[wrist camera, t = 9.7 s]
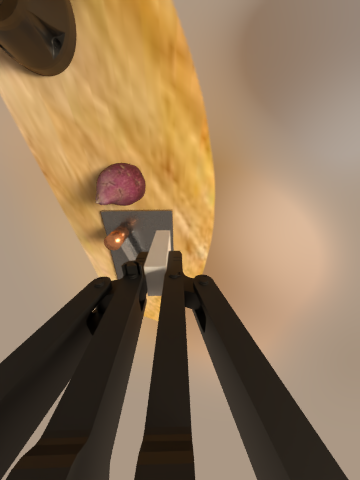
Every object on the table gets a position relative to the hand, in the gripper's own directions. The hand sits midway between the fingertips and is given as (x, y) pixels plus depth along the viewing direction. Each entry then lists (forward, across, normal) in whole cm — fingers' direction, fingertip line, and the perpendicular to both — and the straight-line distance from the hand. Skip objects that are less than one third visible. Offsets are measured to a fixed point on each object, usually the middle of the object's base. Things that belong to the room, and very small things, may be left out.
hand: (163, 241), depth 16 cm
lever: (+24, -12, -17) cm, 31 cm away
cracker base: (+26, -10, -16) cm, 32 cm away
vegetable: (+27, -12, +4) cm, 30 cm away
